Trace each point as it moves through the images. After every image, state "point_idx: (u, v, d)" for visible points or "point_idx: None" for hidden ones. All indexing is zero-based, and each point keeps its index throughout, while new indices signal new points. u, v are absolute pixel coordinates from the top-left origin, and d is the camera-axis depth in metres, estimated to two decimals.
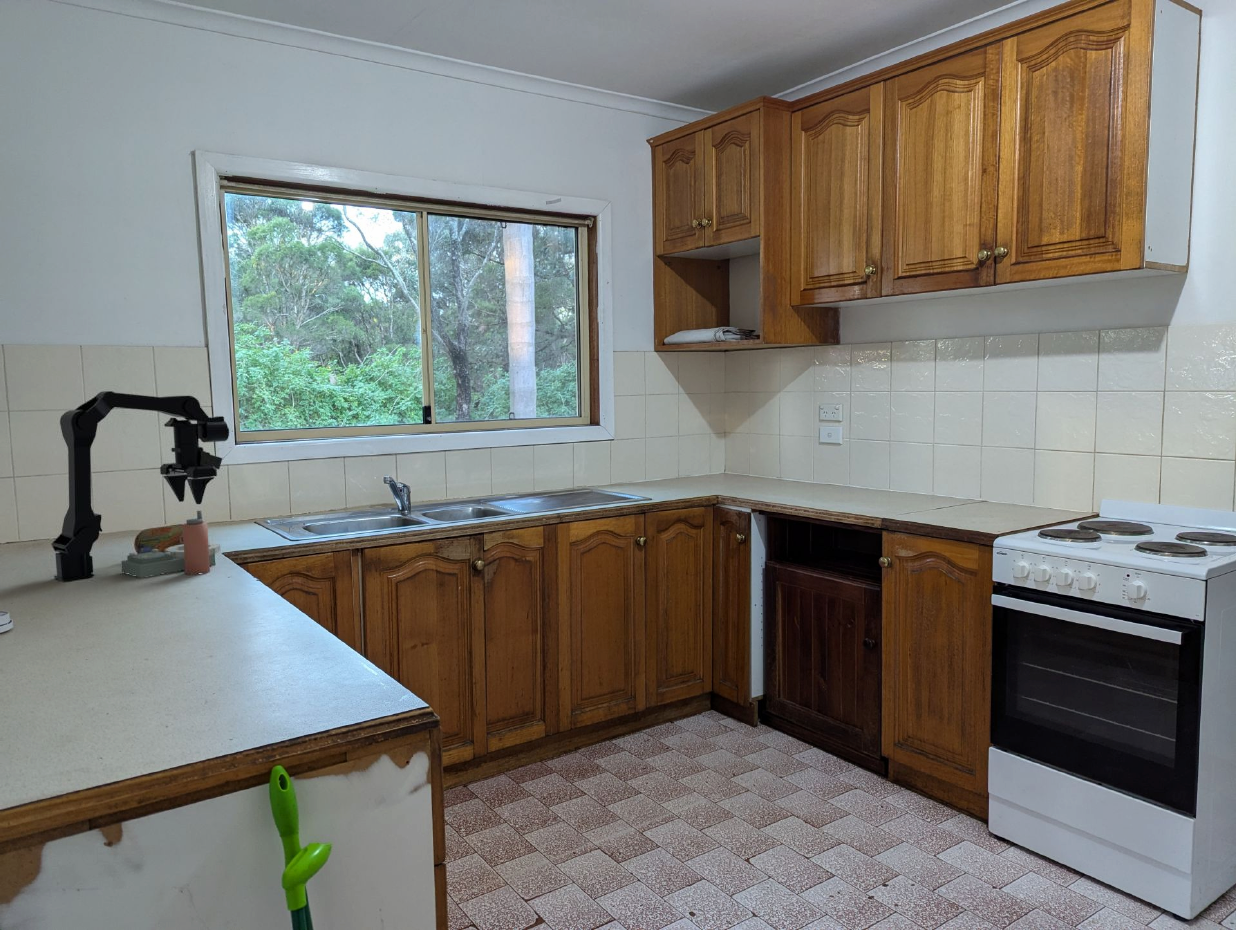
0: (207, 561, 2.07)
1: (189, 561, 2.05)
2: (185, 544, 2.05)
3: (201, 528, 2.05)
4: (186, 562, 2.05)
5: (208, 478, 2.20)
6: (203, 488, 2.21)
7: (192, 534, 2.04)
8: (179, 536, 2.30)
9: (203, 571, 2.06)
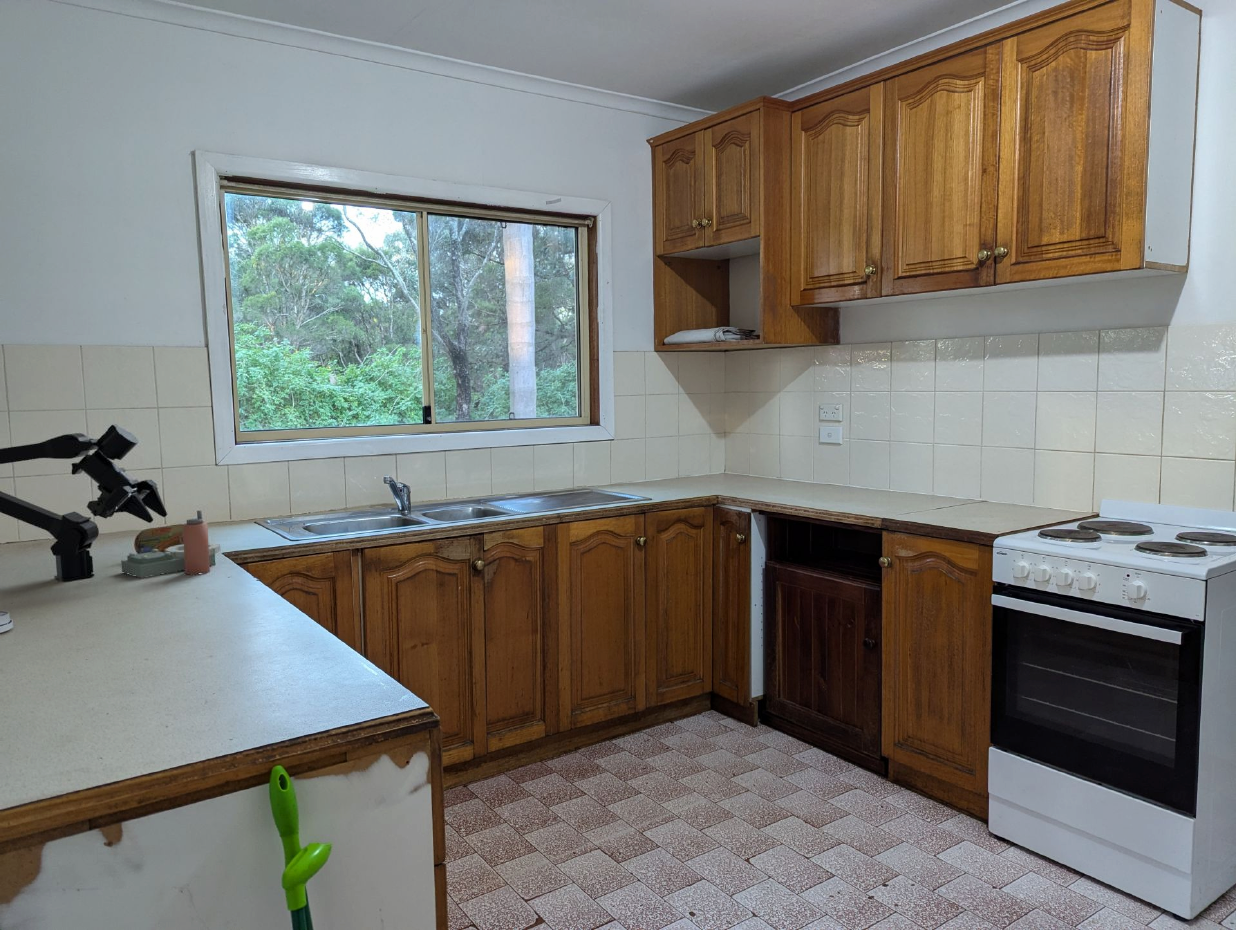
0: (207, 561, 2.07)
1: (189, 561, 2.05)
2: (185, 544, 2.05)
3: (201, 528, 2.05)
4: (186, 562, 2.05)
5: None
6: None
7: (192, 534, 2.04)
8: (179, 536, 2.30)
9: (203, 571, 2.06)
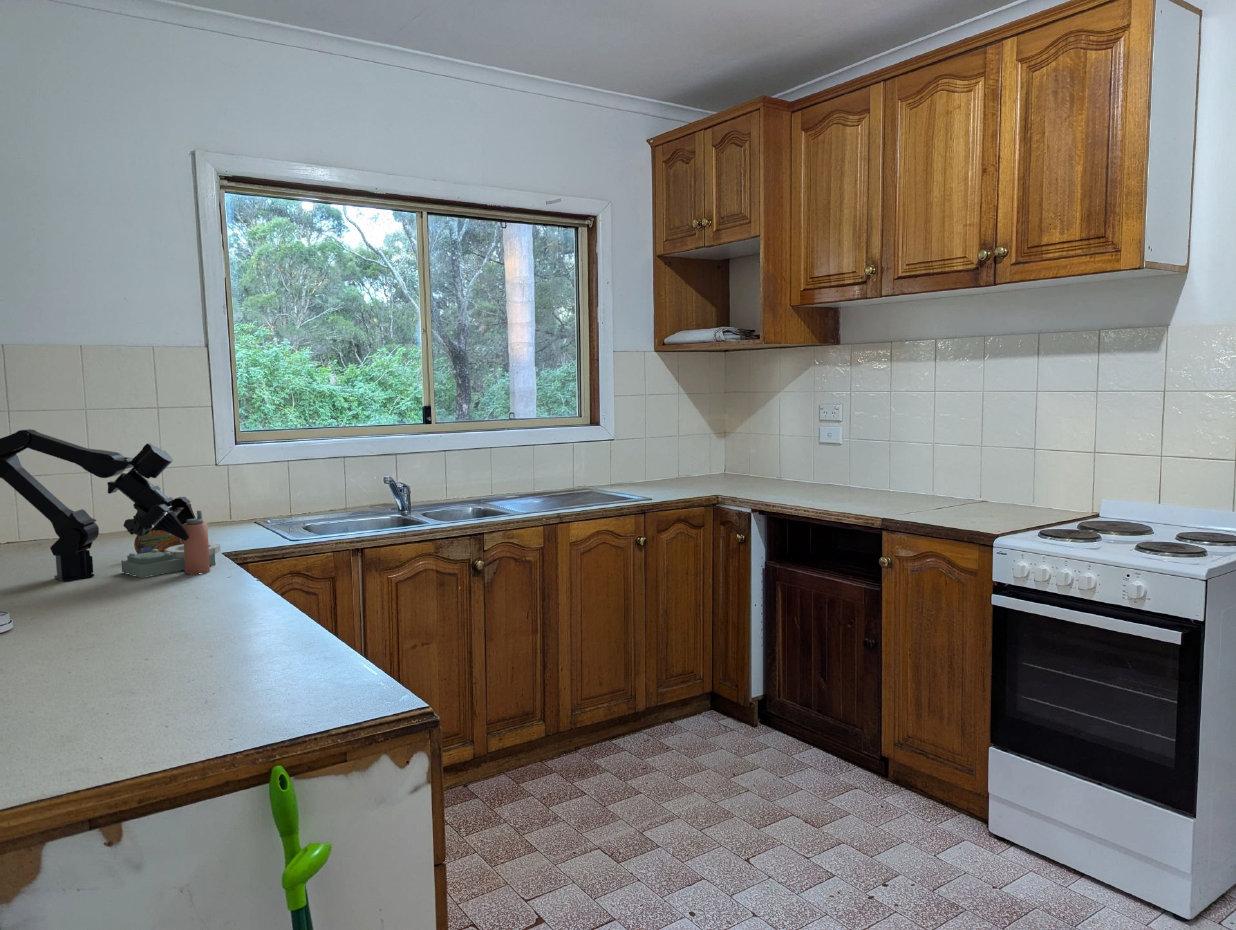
0: (207, 561, 2.07)
1: (189, 561, 2.05)
2: (185, 544, 2.05)
3: (201, 528, 2.05)
4: (186, 562, 2.05)
5: None
6: None
7: (192, 534, 2.04)
8: None
9: (203, 571, 2.06)
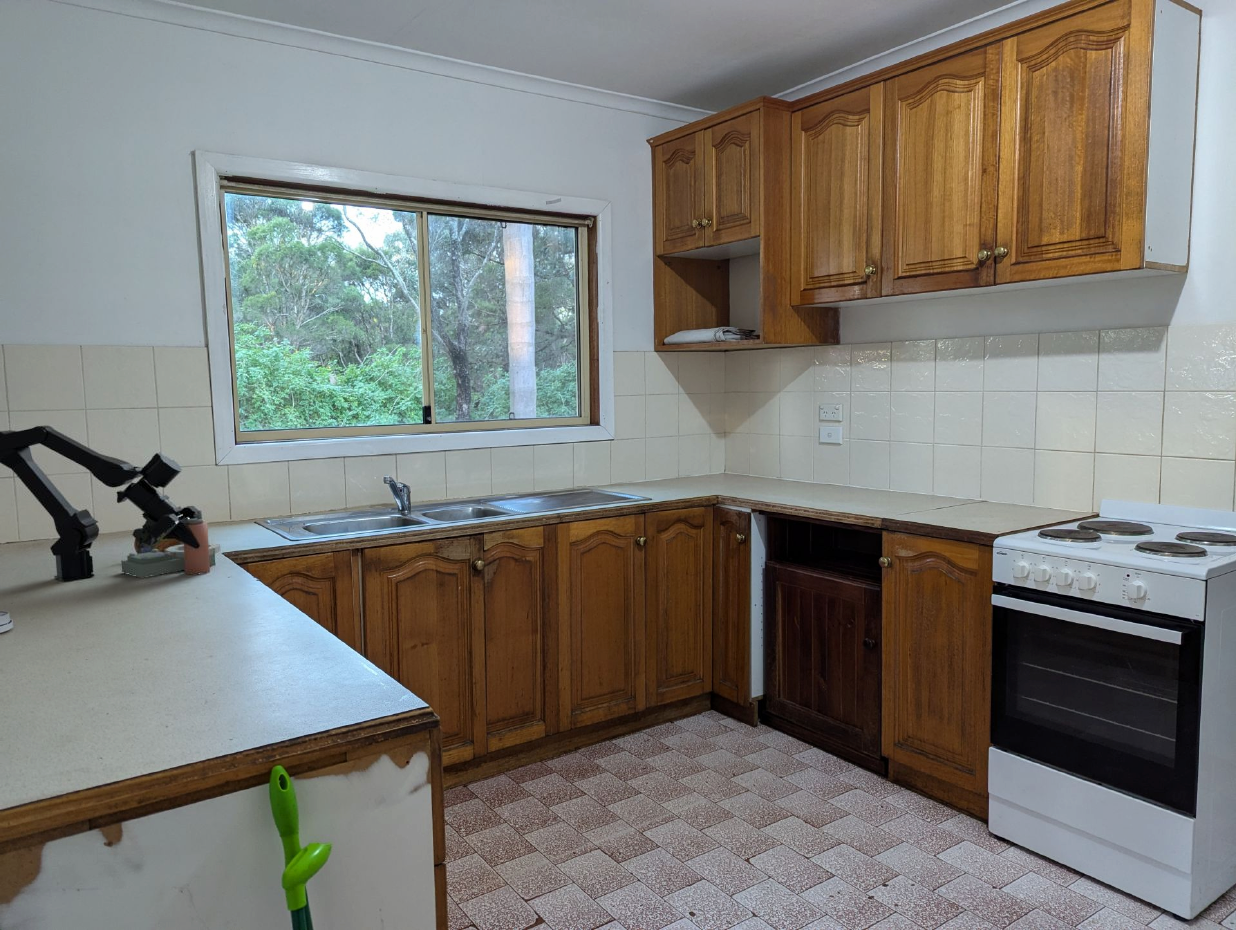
0: (207, 561, 2.07)
1: (189, 561, 2.05)
2: (185, 544, 2.05)
3: (201, 528, 2.05)
4: (186, 562, 2.05)
5: None
6: None
7: None
8: None
9: (203, 571, 2.06)
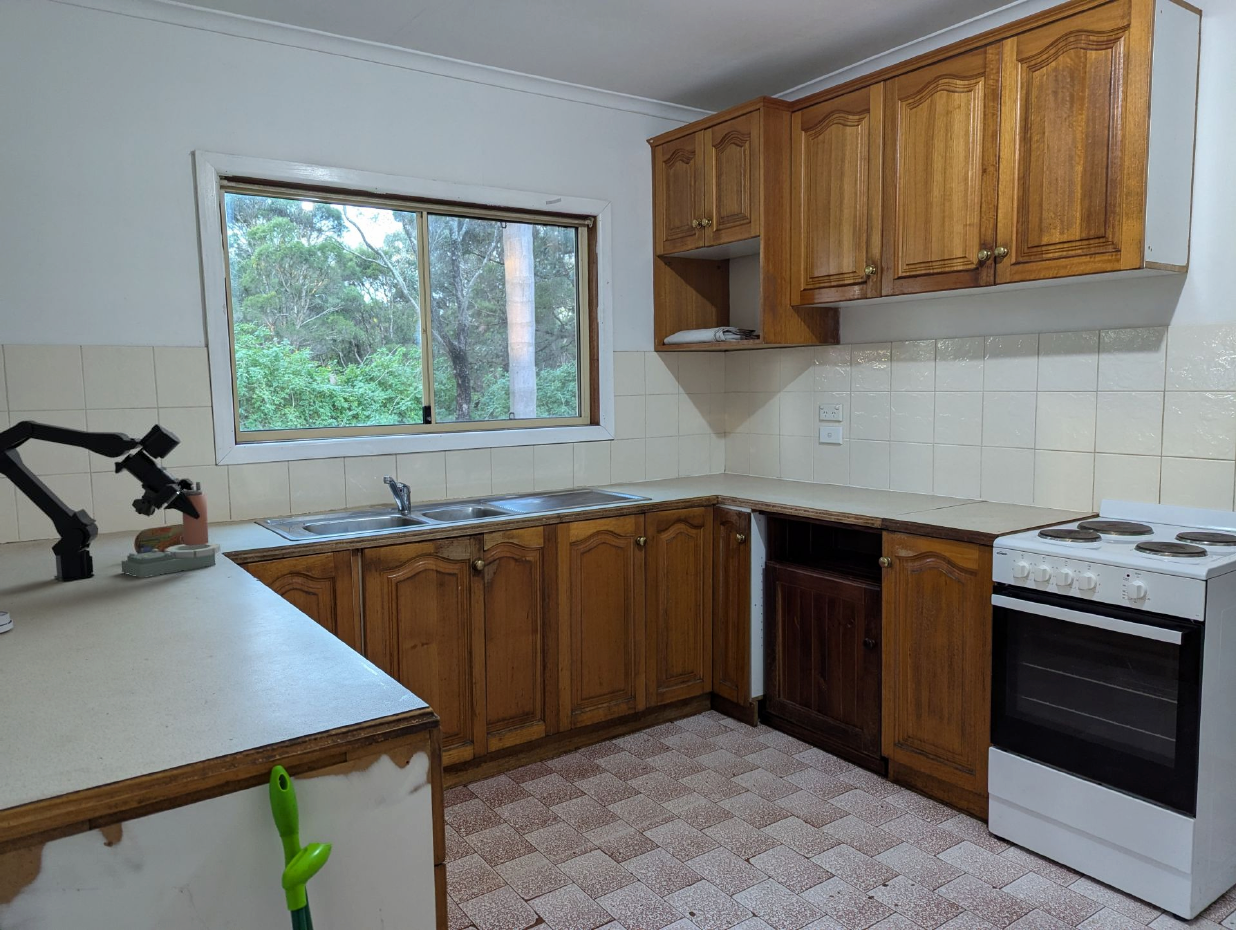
0: (206, 532, 2.09)
1: (188, 531, 2.07)
2: (185, 515, 2.06)
3: (201, 499, 2.07)
4: (185, 533, 2.07)
5: None
6: None
7: None
8: (179, 536, 2.30)
9: (202, 542, 2.08)
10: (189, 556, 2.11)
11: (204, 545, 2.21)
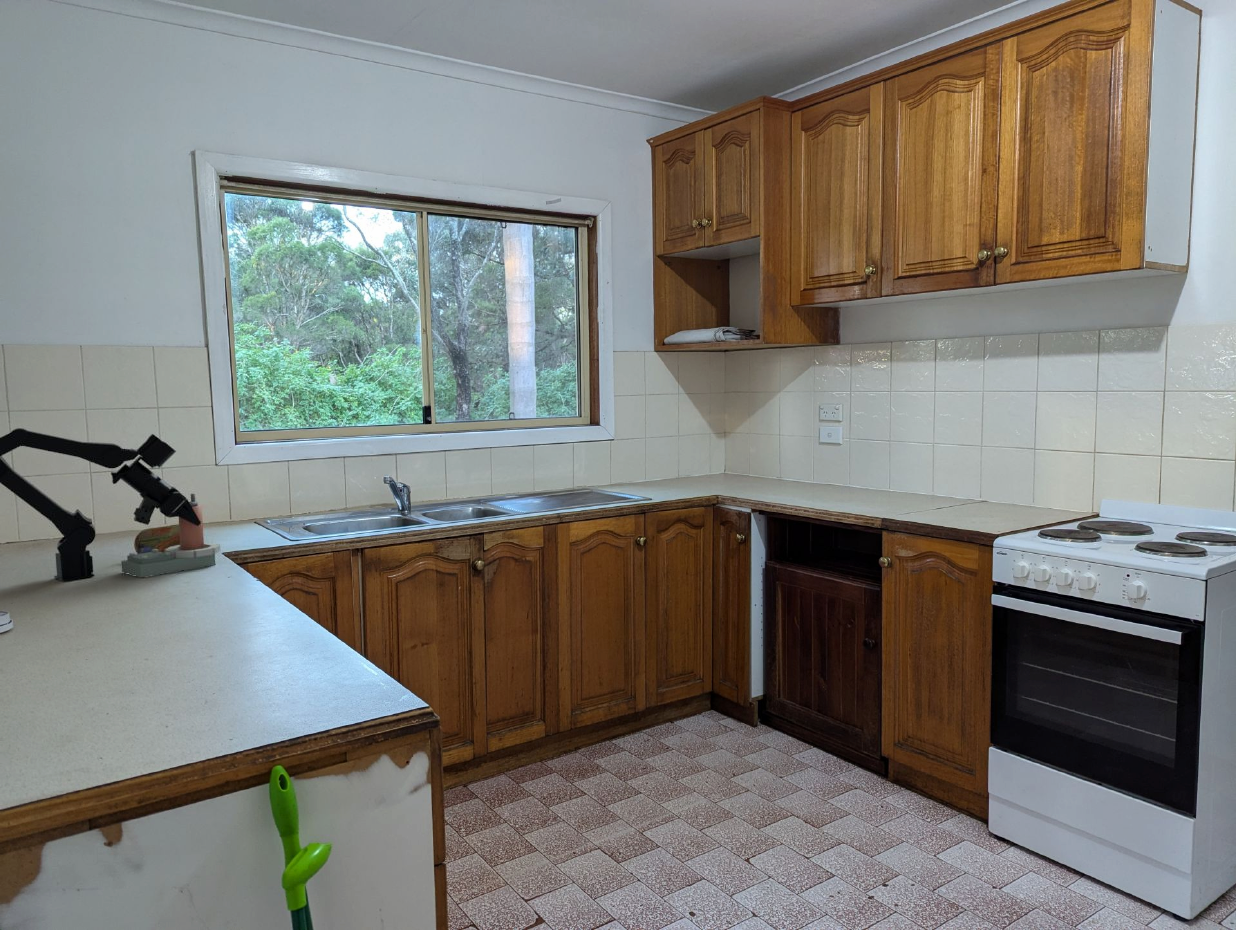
0: (203, 541, 2.17)
1: (188, 541, 2.13)
2: (183, 526, 2.13)
3: (199, 509, 2.15)
4: (184, 543, 2.13)
5: None
6: None
7: None
8: (179, 536, 2.30)
9: None
10: (189, 556, 2.11)
11: (204, 545, 2.21)
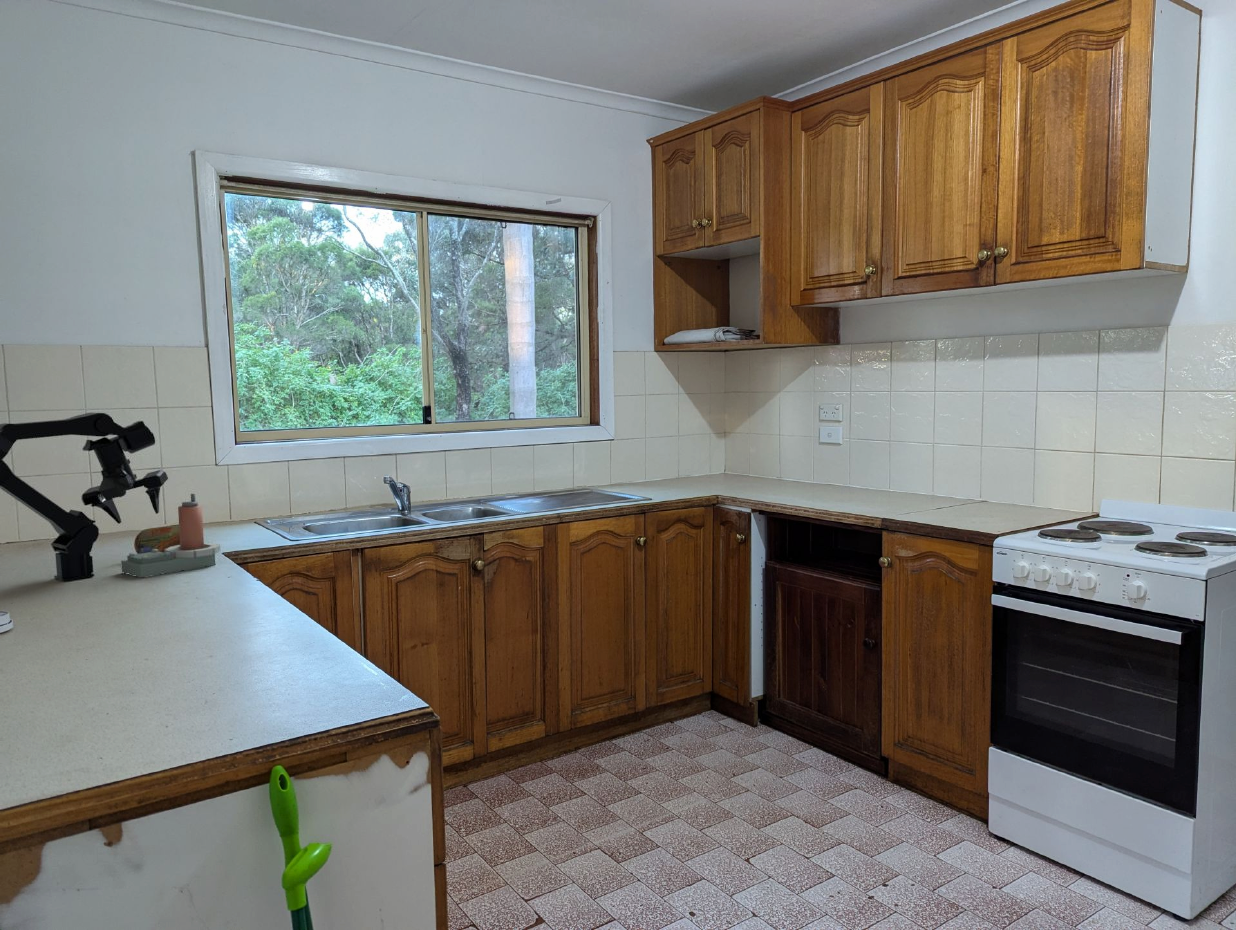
0: (203, 541, 2.17)
1: (188, 541, 2.13)
2: (184, 526, 2.13)
3: (199, 510, 2.15)
4: (184, 543, 2.13)
5: None
6: None
7: (191, 515, 2.13)
8: (179, 536, 2.30)
9: None
10: (189, 556, 2.11)
11: (204, 545, 2.21)
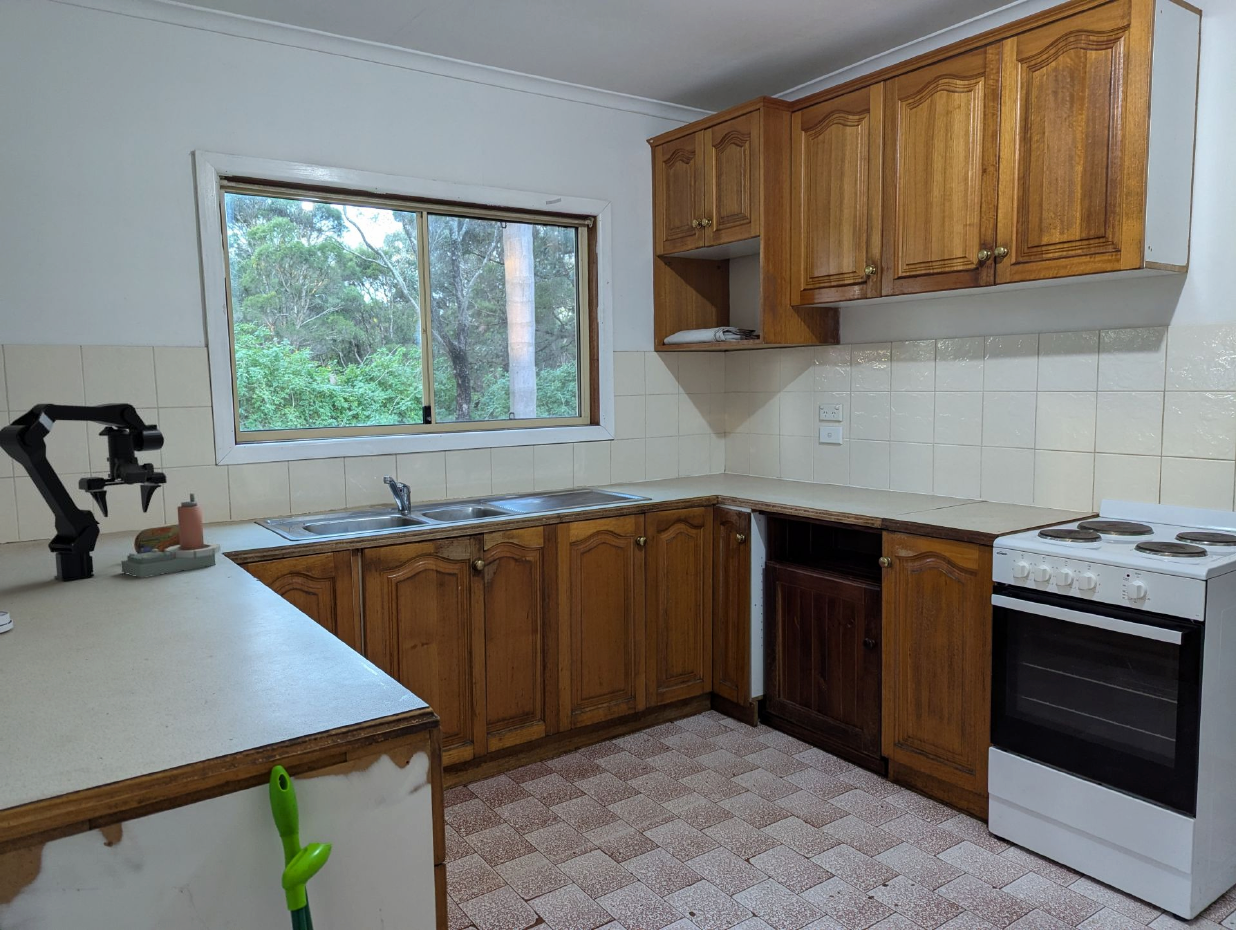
0: (203, 541, 2.17)
1: (188, 541, 2.13)
2: (183, 526, 2.13)
3: (199, 509, 2.15)
4: (184, 543, 2.13)
5: (91, 491, 2.08)
6: (100, 501, 2.10)
7: (191, 515, 2.13)
8: None
9: None
10: (189, 556, 2.11)
11: (204, 545, 2.21)
